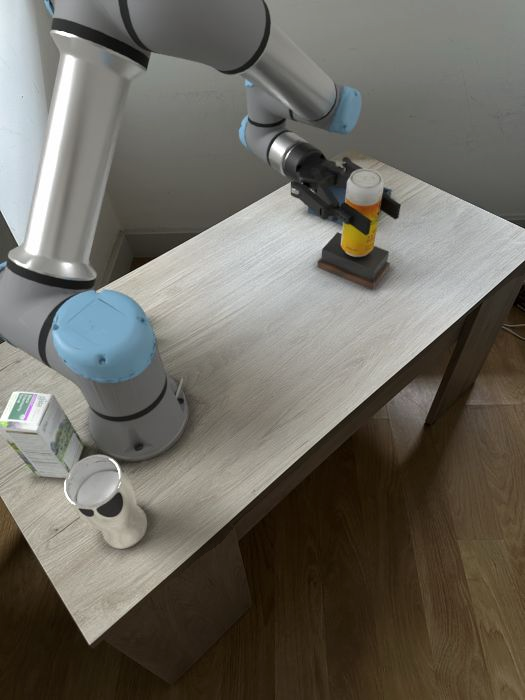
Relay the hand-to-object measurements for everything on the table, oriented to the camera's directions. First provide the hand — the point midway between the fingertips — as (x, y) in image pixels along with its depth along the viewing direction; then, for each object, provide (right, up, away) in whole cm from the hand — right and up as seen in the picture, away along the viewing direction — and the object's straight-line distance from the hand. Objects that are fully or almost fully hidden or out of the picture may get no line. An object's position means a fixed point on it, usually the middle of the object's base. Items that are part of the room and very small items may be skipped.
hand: (383, 220), depth 87 cm
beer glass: (-39, -46, -16) cm, 62 cm away
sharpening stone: (-3, -6, +14) cm, 16 cm away
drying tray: (-1, +10, +26) cm, 28 cm away
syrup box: (-50, -39, -9) cm, 64 cm away
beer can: (-3, -3, +10) cm, 11 cm away
